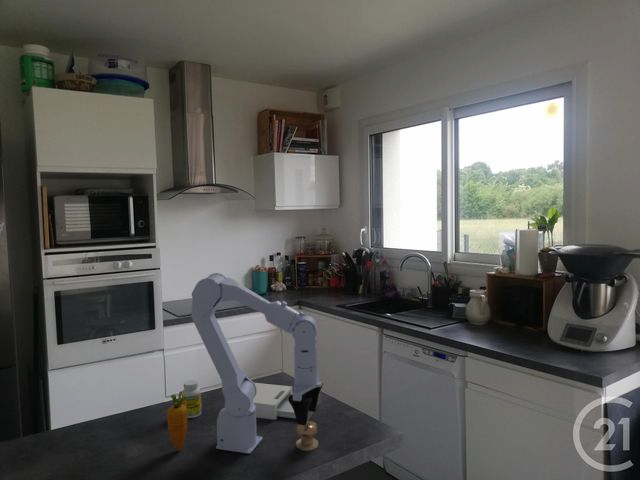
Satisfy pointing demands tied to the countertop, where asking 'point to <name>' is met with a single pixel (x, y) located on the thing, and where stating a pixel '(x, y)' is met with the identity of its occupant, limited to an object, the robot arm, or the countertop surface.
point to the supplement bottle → (192, 398)
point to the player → (269, 399)
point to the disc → (307, 429)
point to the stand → (307, 443)
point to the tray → (287, 411)
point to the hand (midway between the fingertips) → (306, 417)
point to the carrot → (177, 421)
